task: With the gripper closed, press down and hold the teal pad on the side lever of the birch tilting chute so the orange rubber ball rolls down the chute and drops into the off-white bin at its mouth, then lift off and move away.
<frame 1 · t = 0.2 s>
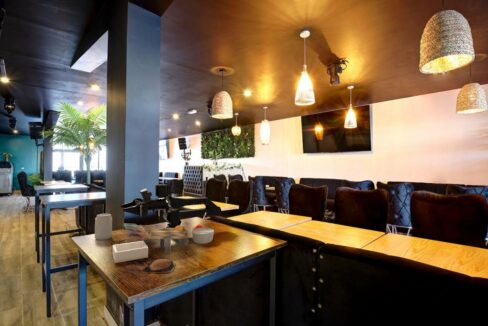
hand: (121, 208, 115), 17 cm above the table, tool horizontal, fingers open, 9 cm apart
can: (103, 238, 121), on the table
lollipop: (200, 232, 136), on the table, touching arm
bin: (130, 255, 99), on the table
ball: (178, 229, 110), point 8 cm above the table, tilted 15°, touching chute
ramekin: (202, 241, 121), on the table
bread roll: (159, 269, 88), on the table
pivot stand: (164, 250, 107), on the table
chute: (155, 231, 111), point 7 cm above the table, hinge at -8.0°, touching ball
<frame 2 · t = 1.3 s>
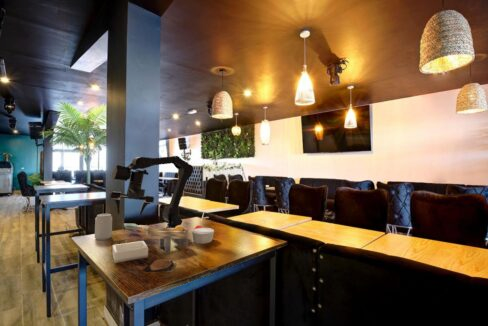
hand: (129, 215, 114), 14 cm above the table, tool pointing down, fingers open, 9 cm apart
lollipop: (200, 232, 136), on the table
everything else where it was.
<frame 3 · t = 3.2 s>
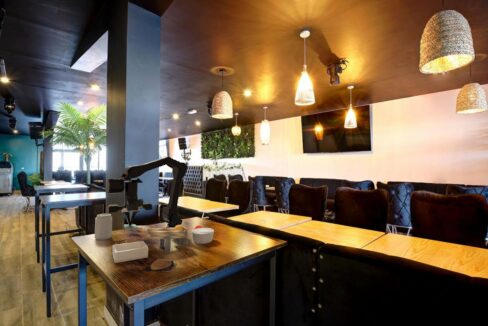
hand: (130, 225, 114), 9 cm above the table, tool pointing down, fingers closed, pressing on chute
chute: (155, 231, 111), point 7 cm above the table, hinge at -5.8°, touching ball, gripper
everything else where it was.
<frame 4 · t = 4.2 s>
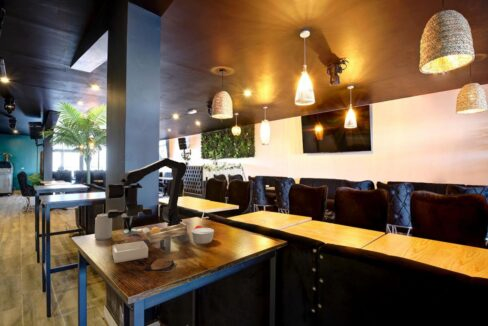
hand: (129, 230, 114), 6 cm above the table, tool pointing down, fingers closed, pressing on chute
ball: (155, 231, 105), point 9 cm above the table, tilted 78°, touching chute
chute: (155, 232, 111), point 6 cm above the table, hinge at 5.8°, touching ball, gripper
everything else where it was.
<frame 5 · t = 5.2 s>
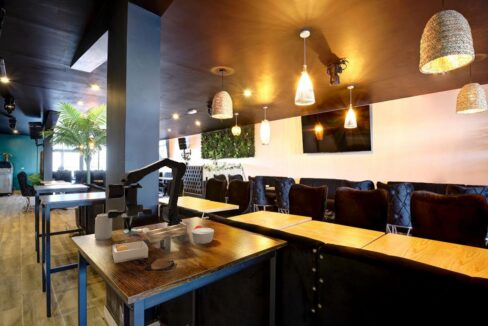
hand: (129, 230, 114), 6 cm above the table, tool pointing down, fingers closed, pressing on chute
ball: (121, 250, 97), point 3 cm above the table, tilted 21°, touching bin
chute: (155, 232, 111), point 6 cm above the table, hinge at 5.9°, touching gripper
everything else where it was.
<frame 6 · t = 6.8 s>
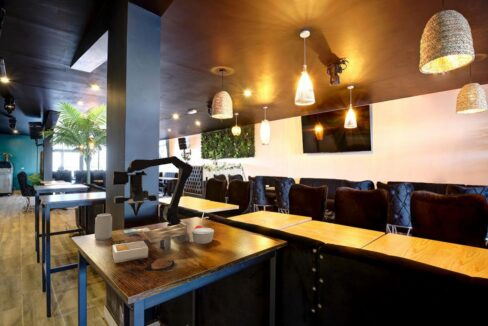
hand: (135, 216, 119), 12 cm above the table, tool pointing down, fingers closed
ball: (123, 250, 98), point 3 cm above the table, tilted 34°, touching bin
chute: (155, 232, 111), point 6 cm above the table, hinge at 5.9°
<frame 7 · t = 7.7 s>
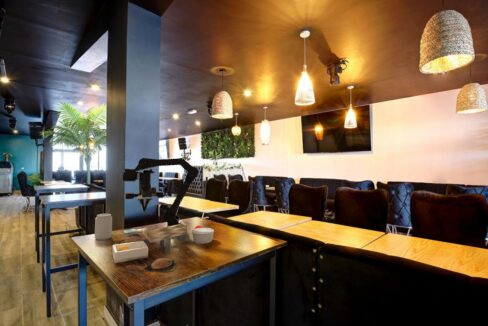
hand: (144, 211, 126), 13 cm above the table, tool pointing down, fingers closed
ball: (123, 250, 98), point 3 cm above the table, tilted 41°, touching bin
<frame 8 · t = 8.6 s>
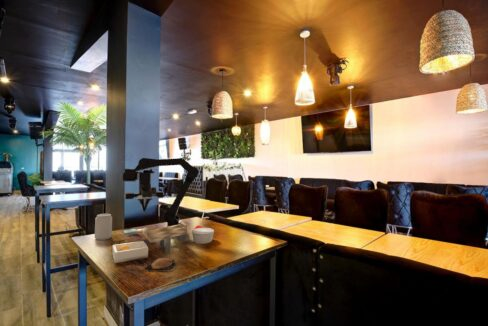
hand: (144, 211, 126), 13 cm above the table, tool pointing down, fingers closed
ball: (124, 250, 98), point 3 cm above the table, tilted 48°, touching bin
at the end: ball inside the target area on the bin (2.1 cm from its centre), point 2.8 cm above the bin's base; ball moved 22.5 cm from its start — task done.
